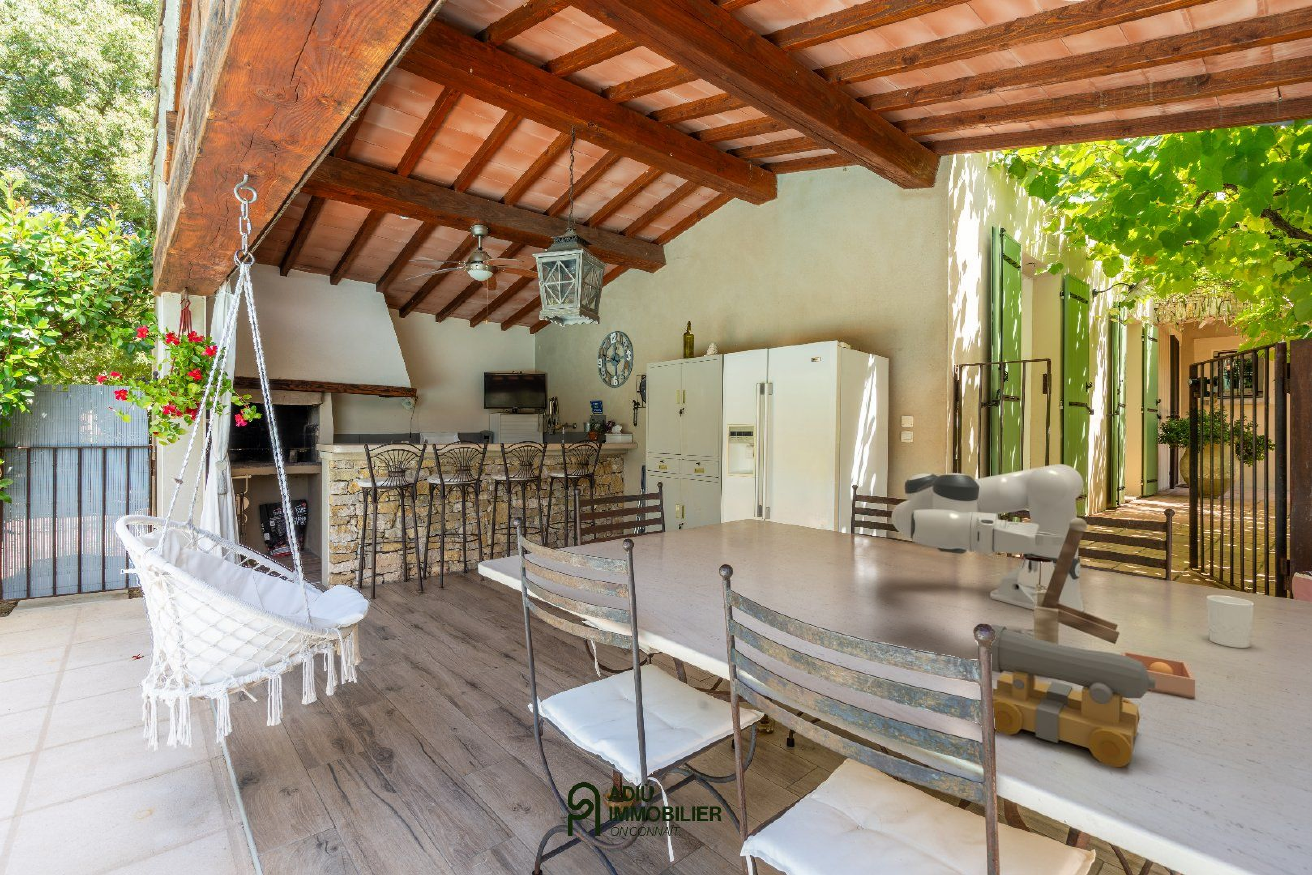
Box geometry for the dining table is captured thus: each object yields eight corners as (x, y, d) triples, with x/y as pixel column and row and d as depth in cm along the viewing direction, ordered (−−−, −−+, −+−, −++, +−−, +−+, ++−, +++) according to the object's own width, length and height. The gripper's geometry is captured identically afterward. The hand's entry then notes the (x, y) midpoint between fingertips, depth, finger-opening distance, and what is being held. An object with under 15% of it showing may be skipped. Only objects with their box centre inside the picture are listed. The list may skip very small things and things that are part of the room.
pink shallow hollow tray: (1124, 685, 117) (1124, 667, 117) (1120, 668, 126) (1121, 651, 126) (1194, 698, 112) (1195, 679, 112) (1185, 679, 120) (1186, 662, 120)
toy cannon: (1149, 779, 86) (1152, 673, 86) (977, 726, 101) (978, 636, 101) (1156, 736, 98) (1158, 643, 98) (1001, 695, 113) (1002, 614, 113)
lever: (1036, 618, 125) (1072, 519, 121) (1038, 604, 134) (1071, 512, 131) (1115, 649, 117) (1156, 544, 114) (1112, 632, 127) (1149, 535, 123)
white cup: (1262, 650, 136) (1263, 605, 136) (1220, 647, 138) (1222, 603, 138) (1236, 638, 144) (1237, 596, 144) (1197, 636, 146) (1198, 594, 146)
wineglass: (1054, 632, 147) (1055, 557, 147) (1060, 643, 140) (1061, 564, 140) (1014, 627, 151) (1016, 554, 150) (1018, 637, 143) (1020, 561, 143)
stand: (1018, 670, 124) (1019, 606, 124) (1023, 645, 138) (1024, 588, 138) (1072, 680, 119) (1073, 614, 119) (1071, 654, 133) (1073, 594, 133)
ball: (1157, 658, 118) (1179, 669, 116) (1152, 657, 121) (1173, 668, 119) (1148, 674, 117) (1170, 686, 116) (1143, 673, 121) (1164, 685, 119)
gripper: (992, 540, 143) (1063, 547, 135) (981, 555, 126) (1062, 564, 118) (993, 513, 143) (1064, 519, 135) (982, 524, 126) (1063, 531, 118)
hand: (1063, 540), depth 127 cm, fingers closed, pressing on lever
